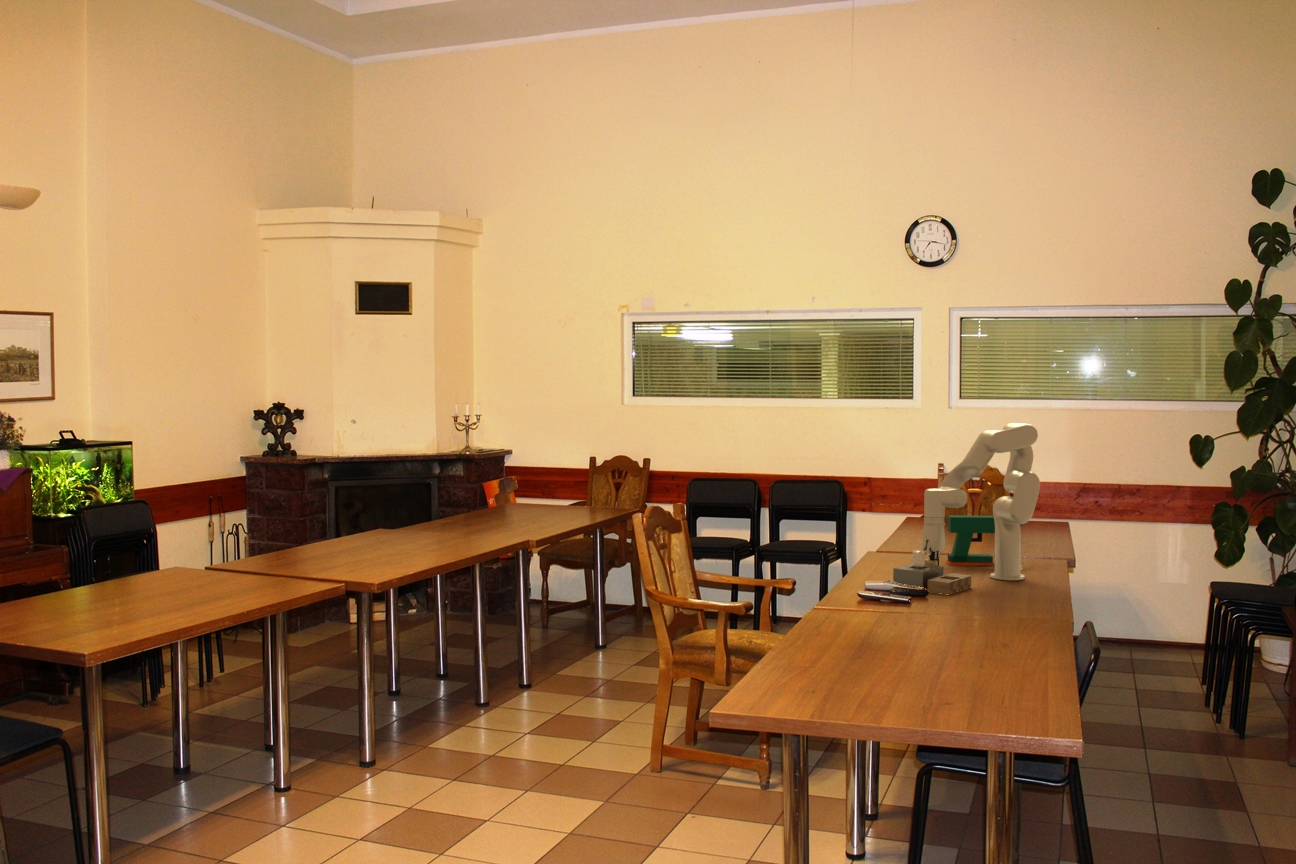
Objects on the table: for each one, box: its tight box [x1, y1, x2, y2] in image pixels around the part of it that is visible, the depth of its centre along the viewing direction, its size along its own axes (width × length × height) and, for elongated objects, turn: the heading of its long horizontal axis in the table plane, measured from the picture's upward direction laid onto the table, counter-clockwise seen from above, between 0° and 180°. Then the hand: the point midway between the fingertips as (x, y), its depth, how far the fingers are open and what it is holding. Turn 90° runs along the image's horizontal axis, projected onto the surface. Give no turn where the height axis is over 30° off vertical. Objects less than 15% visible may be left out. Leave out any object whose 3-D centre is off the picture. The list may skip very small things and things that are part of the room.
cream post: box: [912, 549, 926, 569], centre depth 395 cm, size 4×4×13 cm
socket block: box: [892, 562, 945, 589], centre depth 396 cm, size 16×12×7 cm
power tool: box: [945, 514, 1027, 566], centre depth 442 cm, size 32×7×20 cm, turn 84°
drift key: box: [925, 558, 938, 566], centre depth 400 cm, size 8×5×7 cm, turn 137°
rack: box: [927, 573, 972, 595], centre depth 387 cm, size 18×8×4 cm, turn 138°
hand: (934, 568), depth 405 cm, fingers closed
